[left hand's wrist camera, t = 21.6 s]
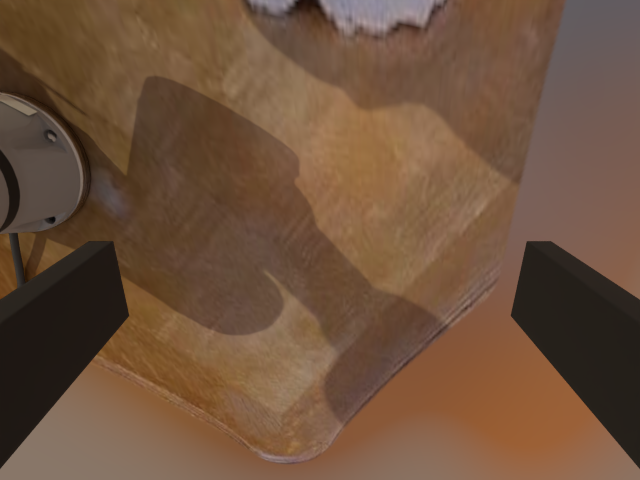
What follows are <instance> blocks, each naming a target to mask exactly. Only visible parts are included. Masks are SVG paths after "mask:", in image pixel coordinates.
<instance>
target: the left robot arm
mask: <svg viewBox="0 0 640 480" xmlns="http://www.w3.org/2000/svg"><path fill="white" fill-rule="evenodd" d="M89 187H90V168H89V163H88V159H87V156H86V153H85V151H84V148H83V146H82V144H81V142H80V141H79V139H78V137H77V136H76V134H75V133H74V131H73V130H72V129H71V128H70V126H69V125H68V124H67V123H66V122H65V121H64V120H63V119H62V118H61V117H60V116H59V115H58V114H57V113H55V112H54V111H53V110H51V109H50V108H49V107H47V106H46V105H44V104H42V103H41V102H39V101H37V100H35V99H32V98H30V97H27V96H24V95H21V94H17V93H12V92H0V234H4V233H9V238H10V244H11V250H12V255H13V260H14V265H15V271H16V277H17V284H18V287H17V289H16V290H14V291H13V292H11V293H10V294H8V295H7V296H5V297H4V298H2V299H1V300H0V468H1V467H2V466H3V465H4V464H5V462H6V461H7V460H8V459H9V458H10V457H11V455H12V454H13V453H14V452H15V451H16V449H17V448H18V447H19V446H20V445H21V443H22V442H23V441H24V440H25V439H26V438H27V436H28V435H29V434H30V433H31V432H32V430H33V429H34V428H35V427H36V426H37V425H38V423H39V422H40V421H41V420H42V419H43V417H44V416H45V415H46V414H47V413H48V411H49V410H50V409H51V408H52V407H53V406H54V404H55V403H56V402H57V401H58V400H59V398H60V397H61V396H62V395H63V394H64V392H65V391H66V390H67V389H68V388H69V387H70V385H71V384H72V383H73V382H74V381H75V379H76V378H77V377H78V376H79V375H80V373H81V372H82V371H83V370H84V369H85V368H86V366H87V365H88V364H89V363H90V362H91V360H92V359H93V358H94V357H95V356H96V355H97V353H98V352H99V351H100V350H101V349H102V347H103V346H104V345H105V344H106V343H107V341H108V340H109V339H110V338H111V337H112V336H113V334H114V333H115V332H116V331H117V330H118V328H119V327H120V326H121V325H122V324H123V323H124V321H125V320H126V319H127V318H128V317H129V313H128V308H127V303H126V299H125V294H124V290H123V285H122V280H121V276H120V271H119V266H118V262H117V257H116V252H115V248H114V243H113V241H89V242H87V243H86V244H84V245H83V246H81V247H80V248H78V249H77V250H75V251H74V252H72V253H70V254H69V255H67V256H66V257H64V258H63V259H61V260H60V261H58V262H57V263H55V264H54V265H52V266H51V267H49V268H48V269H46V270H45V271H43V272H42V273H40V274H39V275H37V276H36V277H34V278H32V279H31V280H29V281H28V282H26V283H25V277H24V270H23V263H22V258H21V253H20V247H19V240H18V233H20V232H37V231H43V230H47V229H50V228H52V227H55V226H57V225H59V224H60V223H62V222H64V221H66V220H68V219H70V218H71V217H72V216H74V215H75V214H76V213H77V212H78V211H79V210H80V208H81V207H82V205H83V204H84V202H85V200H86V198H87V195H88V192H89ZM511 317H512V318H513V319H514V320H515V321H516V322H517V324H518V325H519V326H520V327H521V328H522V330H523V331H524V332H525V333H526V334H527V335H528V337H529V338H530V339H531V340H532V341H533V343H534V344H535V345H536V346H537V347H538V349H539V350H540V351H541V352H542V353H543V355H544V356H545V357H546V358H547V359H548V360H549V362H550V363H551V364H552V365H553V366H554V368H555V369H556V370H557V371H558V372H559V373H560V375H561V376H562V377H563V378H564V379H565V381H566V382H567V383H568V384H569V385H570V387H571V388H572V389H573V390H574V391H575V393H576V394H577V395H578V396H579V397H580V398H581V400H582V401H583V402H584V403H585V404H586V406H587V407H588V408H589V409H590V410H591V411H592V413H593V414H594V415H595V416H596V417H597V419H598V420H599V421H600V422H601V423H602V425H603V426H604V427H605V428H606V429H607V430H608V432H609V433H610V434H611V435H612V436H613V438H614V439H615V440H616V441H617V442H618V444H619V445H620V446H621V447H622V448H623V449H624V451H625V452H626V453H627V454H628V455H629V457H630V458H631V459H632V460H633V461H634V463H635V464H636V465H637V466H638V467H639V468H640V300H639V299H638V298H636V297H635V296H633V295H632V294H630V293H629V292H627V291H626V290H624V289H623V288H621V287H620V286H618V285H617V284H615V283H614V282H612V281H611V280H609V279H608V278H606V277H604V276H603V275H601V274H600V273H598V272H597V271H595V270H594V269H592V268H591V267H589V266H588V265H586V264H585V263H583V262H582V261H580V260H579V259H577V258H576V257H574V256H572V255H571V254H570V253H568V252H566V251H565V250H563V249H562V248H560V247H559V246H557V245H556V244H554V243H553V242H551V241H527V243H526V248H525V252H524V257H523V262H522V266H521V271H520V276H519V280H518V285H517V290H516V294H515V299H514V303H513V308H512V313H511Z"/></svg>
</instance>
